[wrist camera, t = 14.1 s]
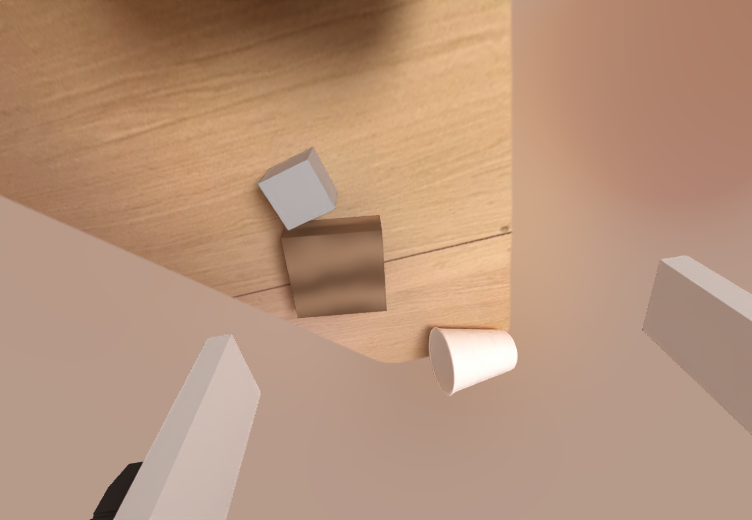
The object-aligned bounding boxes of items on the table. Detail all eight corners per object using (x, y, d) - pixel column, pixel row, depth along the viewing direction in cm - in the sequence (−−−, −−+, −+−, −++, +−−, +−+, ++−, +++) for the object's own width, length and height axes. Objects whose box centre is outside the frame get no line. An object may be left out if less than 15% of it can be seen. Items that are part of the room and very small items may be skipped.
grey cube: (269, 168, 43) (257, 184, 38) (313, 146, 42) (307, 159, 37) (295, 210, 46) (288, 230, 41) (337, 190, 45) (335, 208, 40)
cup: (531, 342, 49) (456, 354, 47) (521, 397, 53) (451, 411, 51) (494, 305, 58) (429, 314, 56) (487, 354, 62) (427, 365, 60)
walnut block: (287, 221, 47) (280, 238, 43) (379, 214, 47) (381, 230, 43) (302, 296, 53) (297, 318, 48) (384, 289, 53) (386, 310, 49)
